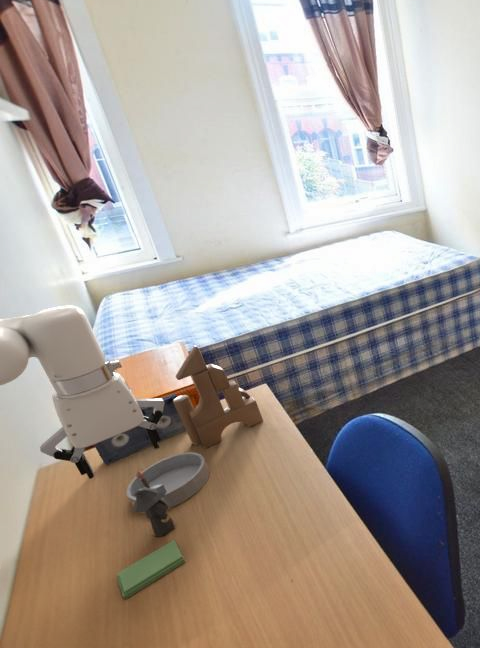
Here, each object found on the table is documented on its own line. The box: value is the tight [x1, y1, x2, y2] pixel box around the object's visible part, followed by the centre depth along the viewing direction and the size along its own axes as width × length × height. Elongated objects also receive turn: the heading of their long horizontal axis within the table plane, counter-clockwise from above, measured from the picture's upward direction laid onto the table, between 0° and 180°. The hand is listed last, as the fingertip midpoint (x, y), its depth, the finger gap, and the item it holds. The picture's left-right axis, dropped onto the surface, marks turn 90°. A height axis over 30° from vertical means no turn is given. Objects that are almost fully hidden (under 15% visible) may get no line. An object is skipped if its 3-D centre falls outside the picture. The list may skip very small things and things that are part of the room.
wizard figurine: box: [133, 469, 176, 537], centre depth 89 cm, size 8×6×12 cm
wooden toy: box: [173, 344, 264, 449], centre depth 115 cm, size 16×7×25 cm, turn 136°
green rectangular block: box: [116, 539, 186, 600], centre depth 83 cm, size 9×6×1 cm, turn 137°
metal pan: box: [125, 452, 210, 514], centre depth 102 cm, size 14×14×4 cm
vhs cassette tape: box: [93, 392, 186, 466], centre depth 116 cm, size 18×3×10 cm, turn 133°
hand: (124, 459), depth 85 cm, fingers open, 9 cm apart
